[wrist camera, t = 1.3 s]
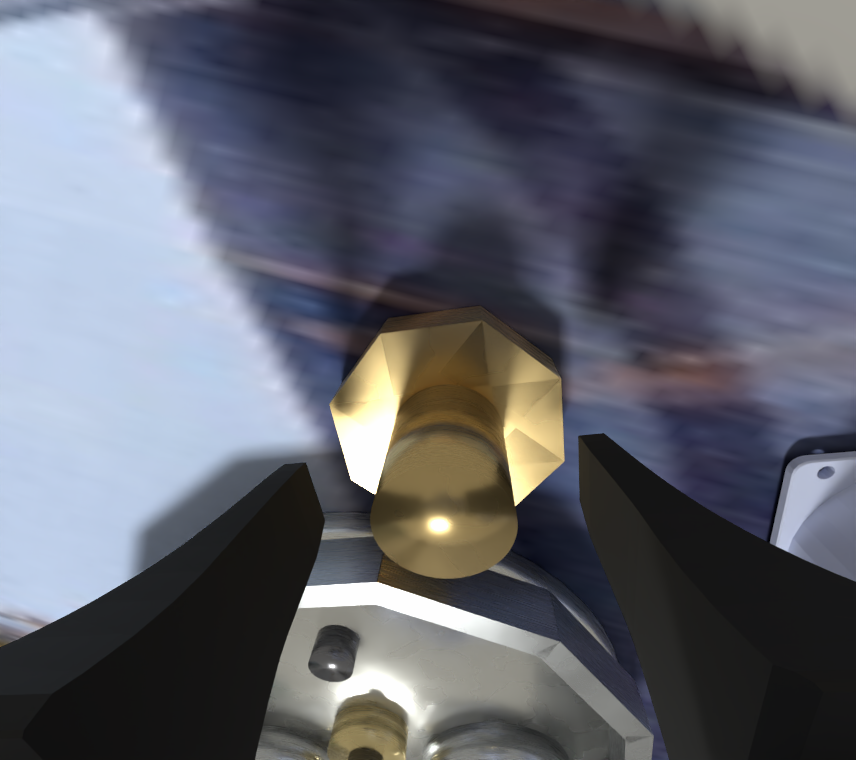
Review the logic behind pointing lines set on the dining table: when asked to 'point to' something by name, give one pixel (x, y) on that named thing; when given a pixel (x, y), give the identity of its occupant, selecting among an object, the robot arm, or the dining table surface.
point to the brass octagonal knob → (449, 436)
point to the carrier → (445, 665)
